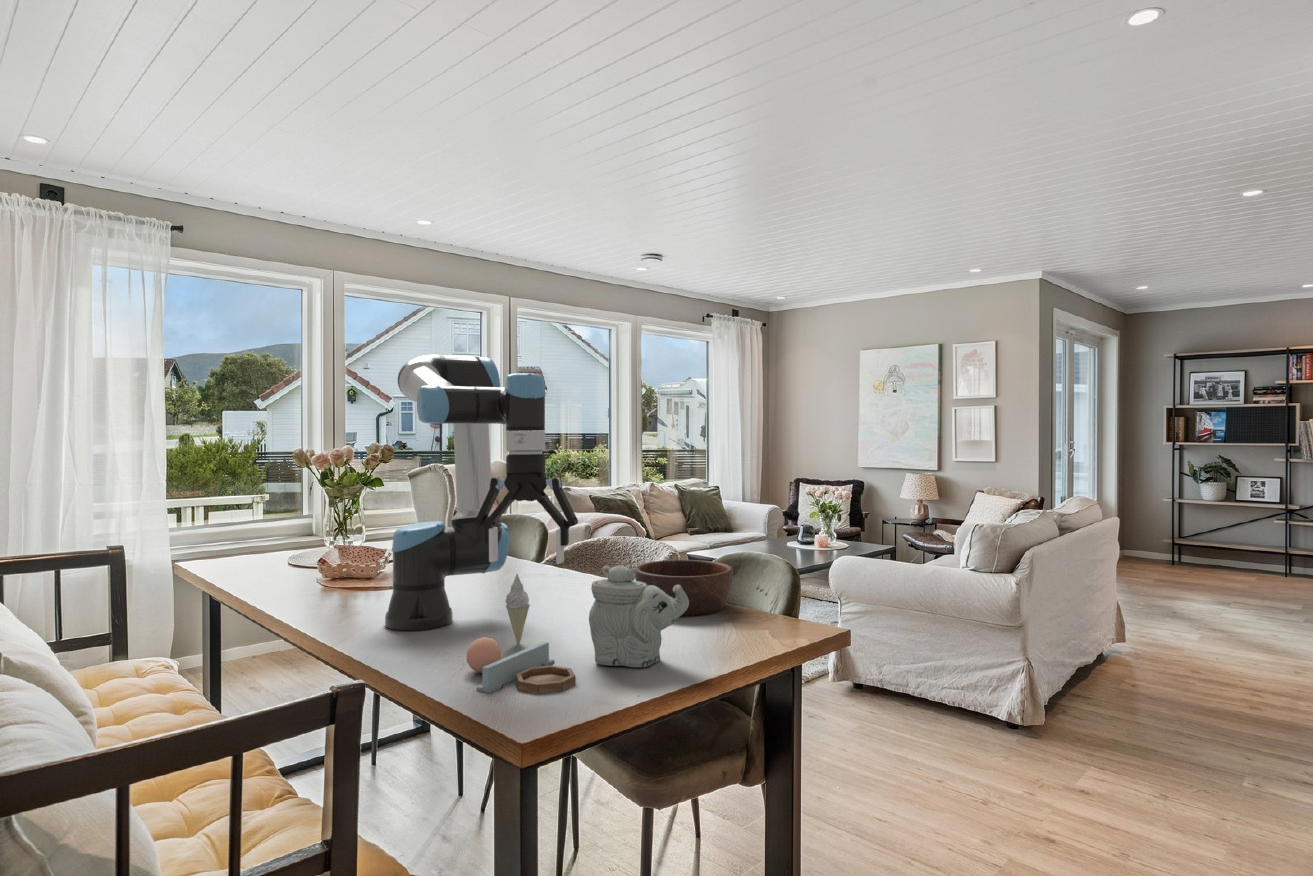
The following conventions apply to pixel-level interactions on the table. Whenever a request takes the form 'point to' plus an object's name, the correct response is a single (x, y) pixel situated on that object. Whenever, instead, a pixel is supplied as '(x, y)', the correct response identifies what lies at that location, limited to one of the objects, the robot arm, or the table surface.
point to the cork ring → (545, 679)
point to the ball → (483, 653)
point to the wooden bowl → (690, 582)
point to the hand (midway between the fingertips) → (526, 562)
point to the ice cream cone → (517, 607)
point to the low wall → (513, 666)
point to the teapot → (631, 618)
